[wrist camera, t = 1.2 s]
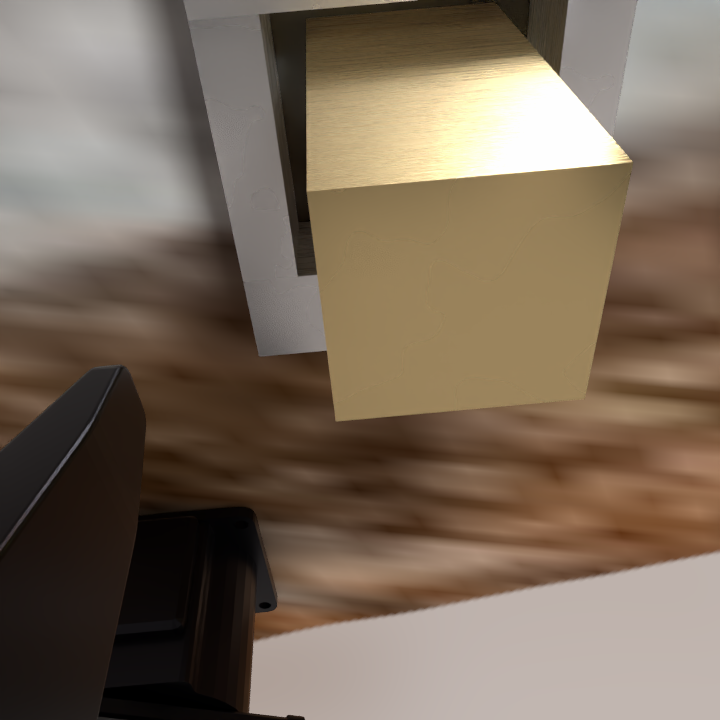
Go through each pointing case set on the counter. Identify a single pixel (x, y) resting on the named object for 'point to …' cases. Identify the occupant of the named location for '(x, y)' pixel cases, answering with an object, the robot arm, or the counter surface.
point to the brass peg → (454, 213)
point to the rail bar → (270, 148)
